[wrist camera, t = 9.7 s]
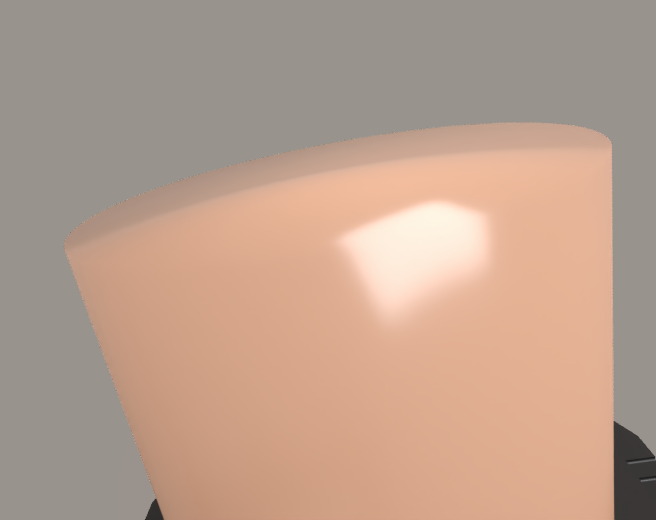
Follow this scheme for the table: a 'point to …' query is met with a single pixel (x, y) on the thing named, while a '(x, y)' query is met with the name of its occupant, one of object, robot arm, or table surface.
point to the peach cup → (369, 328)
